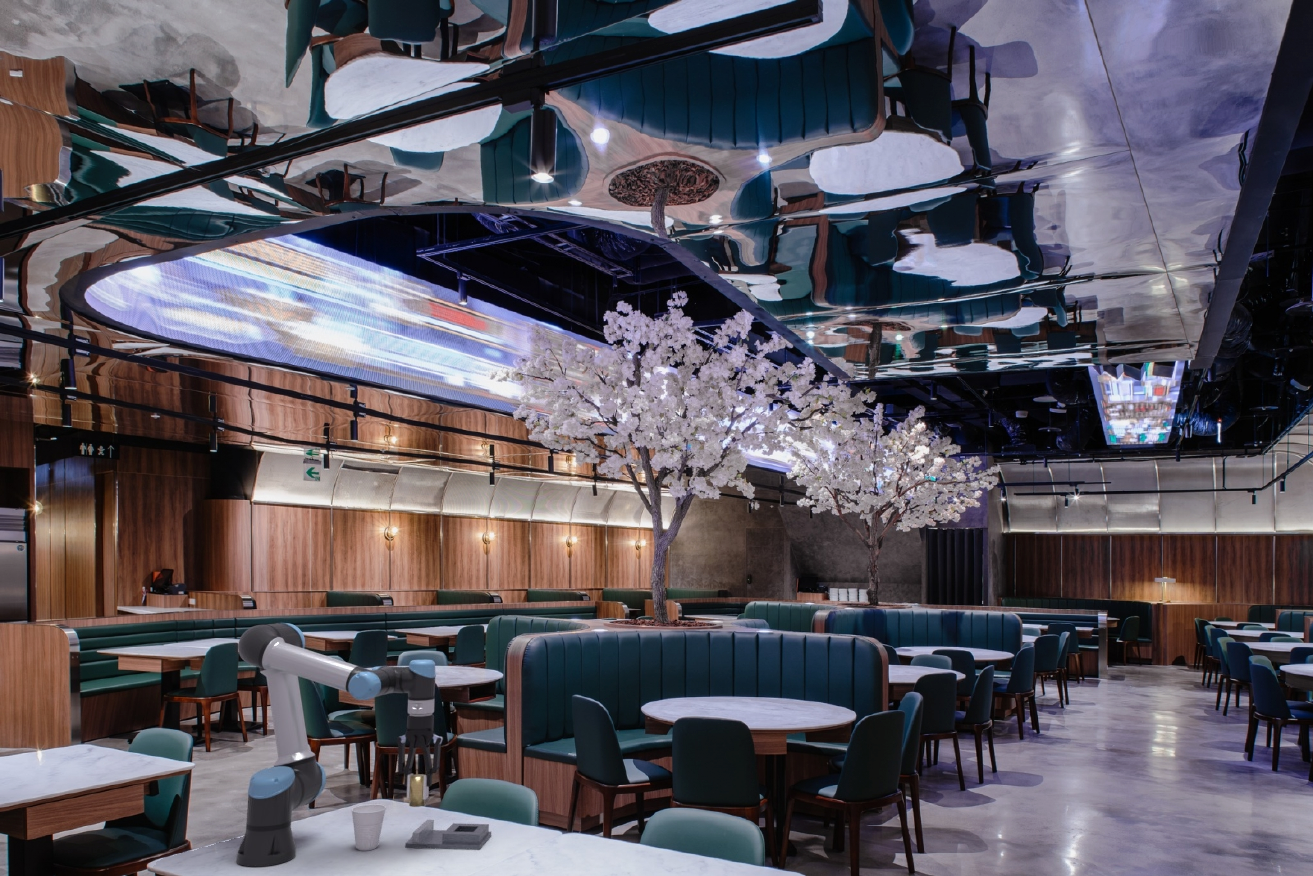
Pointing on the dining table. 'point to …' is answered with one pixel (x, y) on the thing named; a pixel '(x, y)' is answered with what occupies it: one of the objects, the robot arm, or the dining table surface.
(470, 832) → the jig
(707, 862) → the dining table surface
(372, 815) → the cup
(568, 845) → the dining table surface
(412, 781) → the cylinder
